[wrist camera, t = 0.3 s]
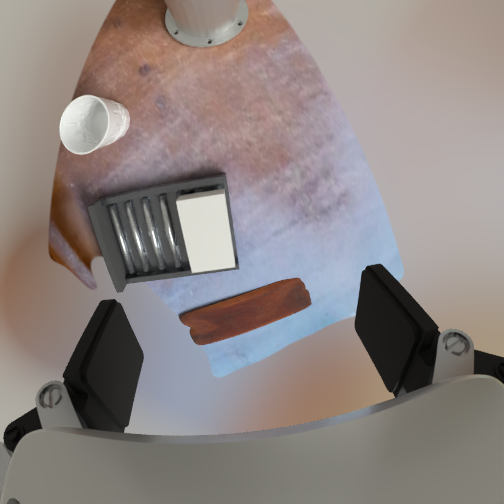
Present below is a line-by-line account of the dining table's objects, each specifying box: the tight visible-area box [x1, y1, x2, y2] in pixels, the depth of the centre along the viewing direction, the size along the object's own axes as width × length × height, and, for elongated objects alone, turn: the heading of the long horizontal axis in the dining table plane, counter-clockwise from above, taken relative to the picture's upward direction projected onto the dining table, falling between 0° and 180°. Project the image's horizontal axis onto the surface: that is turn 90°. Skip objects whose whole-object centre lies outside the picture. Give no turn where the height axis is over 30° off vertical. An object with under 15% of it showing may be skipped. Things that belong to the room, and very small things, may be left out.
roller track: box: [88, 173, 239, 292], centre depth 42 cm, size 16×22×5 cm
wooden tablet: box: [179, 278, 311, 345], centre depth 54 cm, size 27×10×2 cm, turn 110°
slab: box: [176, 189, 235, 273], centre depth 42 cm, size 12×7×3 cm, turn 6°
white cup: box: [59, 95, 130, 154], centre depth 31 cm, size 8×8×10 cm
